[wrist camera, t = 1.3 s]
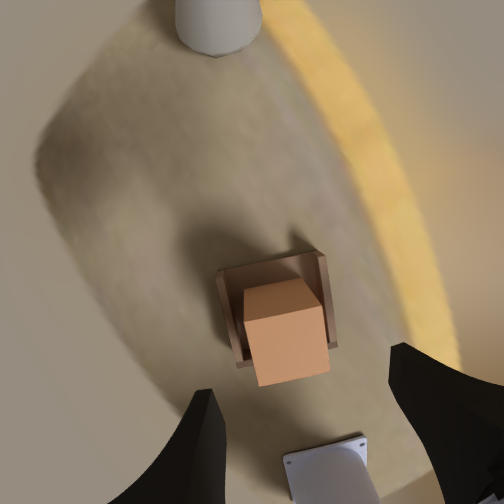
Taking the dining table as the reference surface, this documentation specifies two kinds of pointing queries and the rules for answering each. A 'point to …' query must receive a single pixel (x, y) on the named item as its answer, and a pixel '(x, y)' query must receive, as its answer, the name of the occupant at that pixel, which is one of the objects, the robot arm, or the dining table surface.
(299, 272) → the box
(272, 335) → the block
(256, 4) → the salt shaker
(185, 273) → the dining table surface
